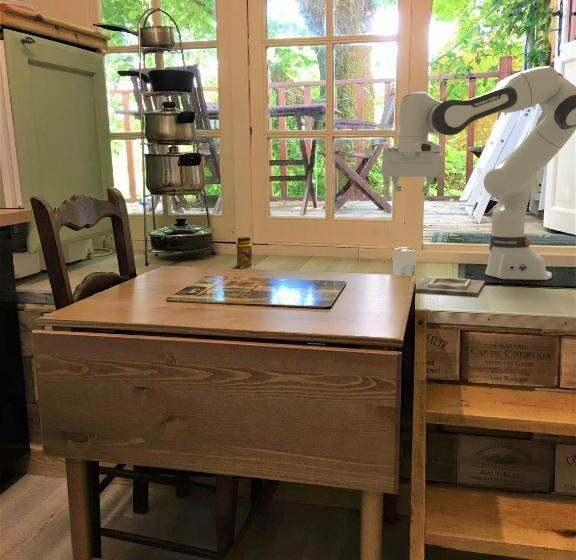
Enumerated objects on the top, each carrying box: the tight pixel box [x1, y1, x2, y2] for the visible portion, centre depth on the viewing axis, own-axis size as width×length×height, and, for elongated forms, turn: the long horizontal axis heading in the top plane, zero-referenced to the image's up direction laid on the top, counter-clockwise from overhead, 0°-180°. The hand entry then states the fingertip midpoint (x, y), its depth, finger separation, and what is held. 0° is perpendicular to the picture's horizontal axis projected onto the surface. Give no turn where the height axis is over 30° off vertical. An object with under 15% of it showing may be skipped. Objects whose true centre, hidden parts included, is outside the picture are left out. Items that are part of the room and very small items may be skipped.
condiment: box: [232, 236, 255, 269], centre depth 251 cm, size 7×8×12 cm
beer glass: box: [392, 247, 417, 277], centre depth 191 cm, size 7×7×15 cm
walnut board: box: [415, 276, 486, 297], centre depth 204 cm, size 20×20×2 cm
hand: (411, 191), depth 195 cm, fingers open, 8 cm apart
